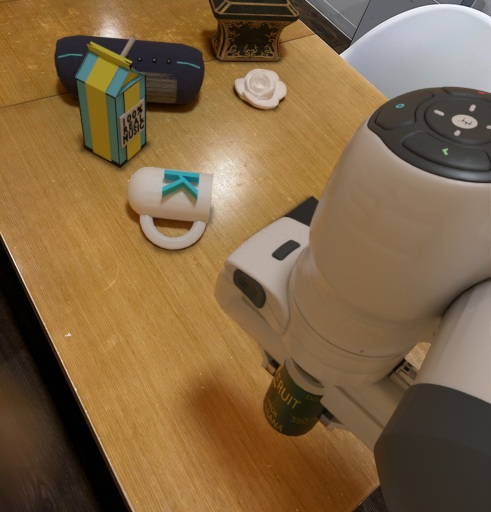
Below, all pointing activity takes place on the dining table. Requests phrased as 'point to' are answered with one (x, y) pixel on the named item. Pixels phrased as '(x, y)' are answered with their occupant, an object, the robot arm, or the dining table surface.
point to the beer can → (293, 400)
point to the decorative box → (250, 28)
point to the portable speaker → (139, 65)
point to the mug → (171, 202)
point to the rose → (261, 88)
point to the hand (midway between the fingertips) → (299, 392)
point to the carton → (111, 104)
